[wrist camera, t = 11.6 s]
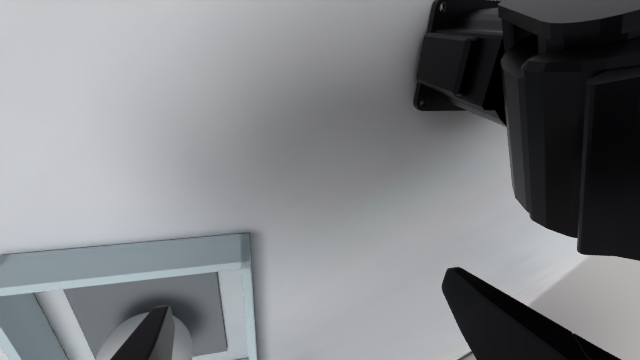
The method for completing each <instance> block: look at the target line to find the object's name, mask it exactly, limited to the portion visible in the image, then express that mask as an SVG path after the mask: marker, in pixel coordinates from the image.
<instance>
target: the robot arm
mask: <svg viewBox="0 0 640 360" xmlns="http://www.w3.org/2000/svg"><path fill="white" fill-rule="evenodd" d="M441 3H443V4H444V8H443V10H442V11H440V5H441ZM417 80H418V83H417V88H416V93H415V99H414V106H415V108H417V109H418V110H421V111H470V112H472V113H475V114H477V115H479V116H482V117H484V118H486V119H489V120H491V121H493V122H496V123H498V124H501V125H503V126H505V127H507V135H508V145H509V156H510V166H511V177H512V186H513V190H514V194H515V198H516V199H517V200H518V201H519V203H520V204H521V205H522V206H523V207H524V208H525V210H526V211H527V212H529V213H530V218H531V219H532V220H533V221H535V222H536V223H538V224H540V225H542V226H543V227H545V228H547V229H550V230H552V231H555V232H558V233H561V234H564V235H566V236H570V237H574V238H578V241H577V251H578V252H579V253H581V254H584V255H603V256H618V257H623V258H628V259H634V260H639V261H640V0H504V1H490V0H435V2H434V3H433V6H432V10H431V16H430V21H429V26H428V31H427V35H426V36H425V37H424V42H423V47H422V52H421V58H420V63H419V68H418V73H417ZM422 100H424V103H423V105H421V106H420V103H421V101H422ZM442 291H443V294H444V296H445V298H446V300H447V302H448V305H449V307H450V309H451V311H452V313H453V315H454V318H455V320H456V322H457V324H458V326H459V328H460V330H461V332H462V334H463V336H464V338H465V340H466V342H467V343H468V345H469V347H470V349H471V350H472V352H473V354H474V356H475V357H476V359H477V360H621V359H619V358H617V357H615V356H613V355H612V354H610V353H608V352H606V351H604V350H602V349H601V348H599V347H597V346H595V345H594V344H592V343H590V342H588V341H586V340H585V339H583V338H581V337H580V336H578V335H576V334H573V333H572V332H571V331H569V330H568V329H566V328H564V327H562V326H561V325H559V324H557V323H555V322H554V321H552V320H550V319H549V318H547V317H545V316H543V315H542V314H540V313H538V312H536V311H535V310H533V309H531V308H530V307H528V306H526V305H524V304H523V303H521V302H519V301H517V300H516V299H514V298H512V297H511V296H509V295H507V294H505V293H504V292H502V291H500V290H498V289H497V288H495V287H493V286H492V285H490V284H488V283H486V282H485V281H483V280H481V279H479V278H478V277H476V276H474V275H473V274H471V273H469V272H467V271H466V270H464V269H462V268H460V267H454V268H448V269H447V271H446V274H445V277H444V280H443V283H442ZM174 335H175V323H174V319H173V315H172V311H171V308H170V306H169V305H164V306H156V307H154V308H153V309H152V310H151V311H150V312H149V313H148V314H147V316H146V317H145V318H144V319H143V320H142V322H141V323H140V324H139V325H138V326H137V328H136V329H135V330H134V331H133V332H132V334H131V335H130V336H129V337H128V338H127V340H126V341H125V342H124V343H123V344H122V346H121V347H120V348H119V349H118V350H117V352H116V353H115V354H114V355H113V356H112V358H111V359H110V360H172V352H173V343H174Z"/></svg>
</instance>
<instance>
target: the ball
mask: <svg viewBox="0 0 640 360" xmlns="http://www.w3.org/2000/svg"><path fill="white" fill-rule="evenodd" d="M148 313H149V312H146V313H142V314H139V315H136V316H134V317H131V318H129V319H128V320H126V321H125V322H123V323H121V324H120V325H119V326H118V327H117V328H115V329H114V330H113V331H112V332H111V333H110V335H109V336H108V337H107V338H106V340H105V341H104V343H103V344H102V346H101V348H100V350H99V352H98V354H97V357H96V360H110V359H111V358H112V356H113V355H114V354H115V353H116V352H117V350H118V349H119V348H120V347H121V346H122V344H123V343H124V342H125V341H126V340H127V338H128V337H129V336H130V335H131V334H132V332H133V331H134V330H135V329H136V328H137V326H138V325H139V324H140V323H141V322H142V320H143V319H144V318H145V317H146V316H147V314H148ZM173 319H174V323H175V335H174V343H173V352H172V360H192V353H193V346H192V339H191V336H190V333H189V331H188V329H187V327H186V326H185V325H184V323H183V322H182V321H181V320H179V319H178V318H177V317H175V316H173Z"/></svg>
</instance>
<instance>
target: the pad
mask: <svg viewBox="0 0 640 360" xmlns="http://www.w3.org/2000/svg"><path fill="white" fill-rule="evenodd" d="M63 290H64V293H65V295H66V297H67V299H68V301H69V303H70V306H71V308H72V310H73V312H74V314H75V316H76V319H77V321H78V323H79V325H80V327H81V329H82V332H83V334H84V336H85V338H86V340H87V342H88V345H89V347H90V349H91V351H92V353H93V355H94V358H95V360H96V357H97V354H98V352H99V350H100V348H101V346H102V344H103V343H104V341H105V340H106V338H107V337H108V336H109V335H110V333H111V332H112V331H113V330H114V329H115V328H117V327H118V326H119V325H120V324H121V323H123V322H125V321H126V320H128V319H129V318H131V317H134V316H136V315H139V314H142V313H146V312H150V311H151V310H152V309H153V308H154V307H156V306H164V305H169V306H170V308H171V311H172V315H173V316H175V317H177V318H178V319H179V320H181V321H182V322H183V323H184V325H185V326H186V327H187V329H188V331H189V333H190V336H191V339H192V346H193V353H192V357H193V356H199V355H205V354H211V353H217V352H223V351H227V343H226V336H225V329H224V321H223V314H222V307H221V299H220V292H219V285H218V278H217V272H210V273H201V274H192V275H184V276H175V277H166V278H157V279H148V280H139V281H131V282H122V283H113V284H104V285H95V286H87V287H78V288H69V289H63Z"/></svg>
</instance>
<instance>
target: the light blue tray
mask: <svg viewBox="0 0 640 360" xmlns="http://www.w3.org/2000/svg"><path fill="white" fill-rule="evenodd" d="M237 269H241V275H242V286H243V298H244V309H245V320H246V332H247V343H248V355H249V358H245V359H240V360H257V345H256V329H255V314H254V299H253V284H252V269H251V254H250V239H249V233H242V234H231V235H220V236H208V237H197V238H186V239H175V240H164V241H152V242H141V243H130V244H119V245H108V246H96V247H85V248H74V249H63V250H52V251H40V252H29V253H18V254H7V255H1V256H0V347H1V348H2V350H3V351H4V353H5V354H6V356H7V357H8V359H9V360H68V359H67V357H66V355H65V353H64V351H63V349H62V347H61V345H60V343H59V341H58V340H57V338H56V336H55V334H54V332H53V330H52V328H51V326H50V324H49V323H48V321H47V319H46V317H45V315H44V313H43V311H42V309H41V307H40V305H39V304H38V302H37V300H36V298H35V296H34V294H33V293H34V292H42V291H51V290H60V289H69V288H78V287H87V286H95V285H104V284H113V283H122V282H131V281H139V280H148V279H157V278H166V277H175V276H184V275H192V274H201V273H210V272H219V271H228V270H237Z"/></svg>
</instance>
